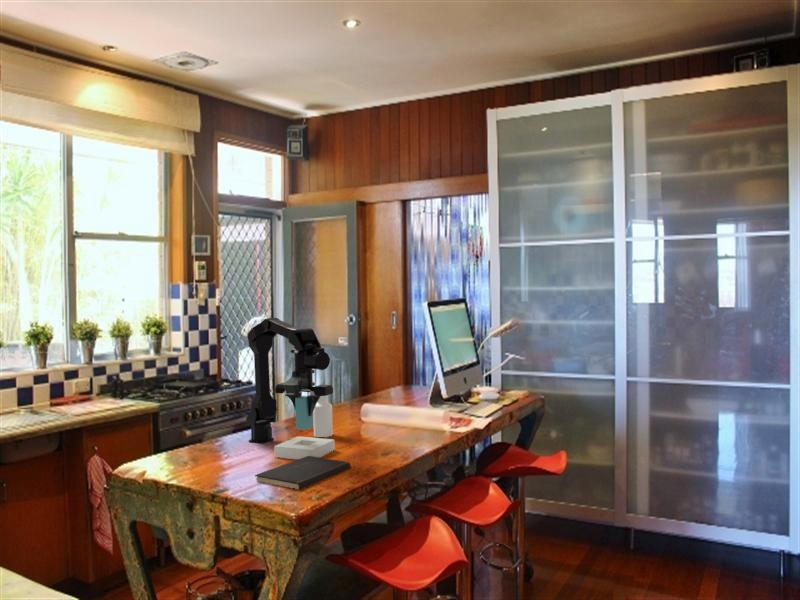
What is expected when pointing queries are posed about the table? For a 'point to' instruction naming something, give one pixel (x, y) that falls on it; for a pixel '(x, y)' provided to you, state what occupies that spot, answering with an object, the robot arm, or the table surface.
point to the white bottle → (323, 418)
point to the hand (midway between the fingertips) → (304, 415)
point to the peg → (303, 414)
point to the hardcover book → (303, 472)
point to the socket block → (304, 447)
